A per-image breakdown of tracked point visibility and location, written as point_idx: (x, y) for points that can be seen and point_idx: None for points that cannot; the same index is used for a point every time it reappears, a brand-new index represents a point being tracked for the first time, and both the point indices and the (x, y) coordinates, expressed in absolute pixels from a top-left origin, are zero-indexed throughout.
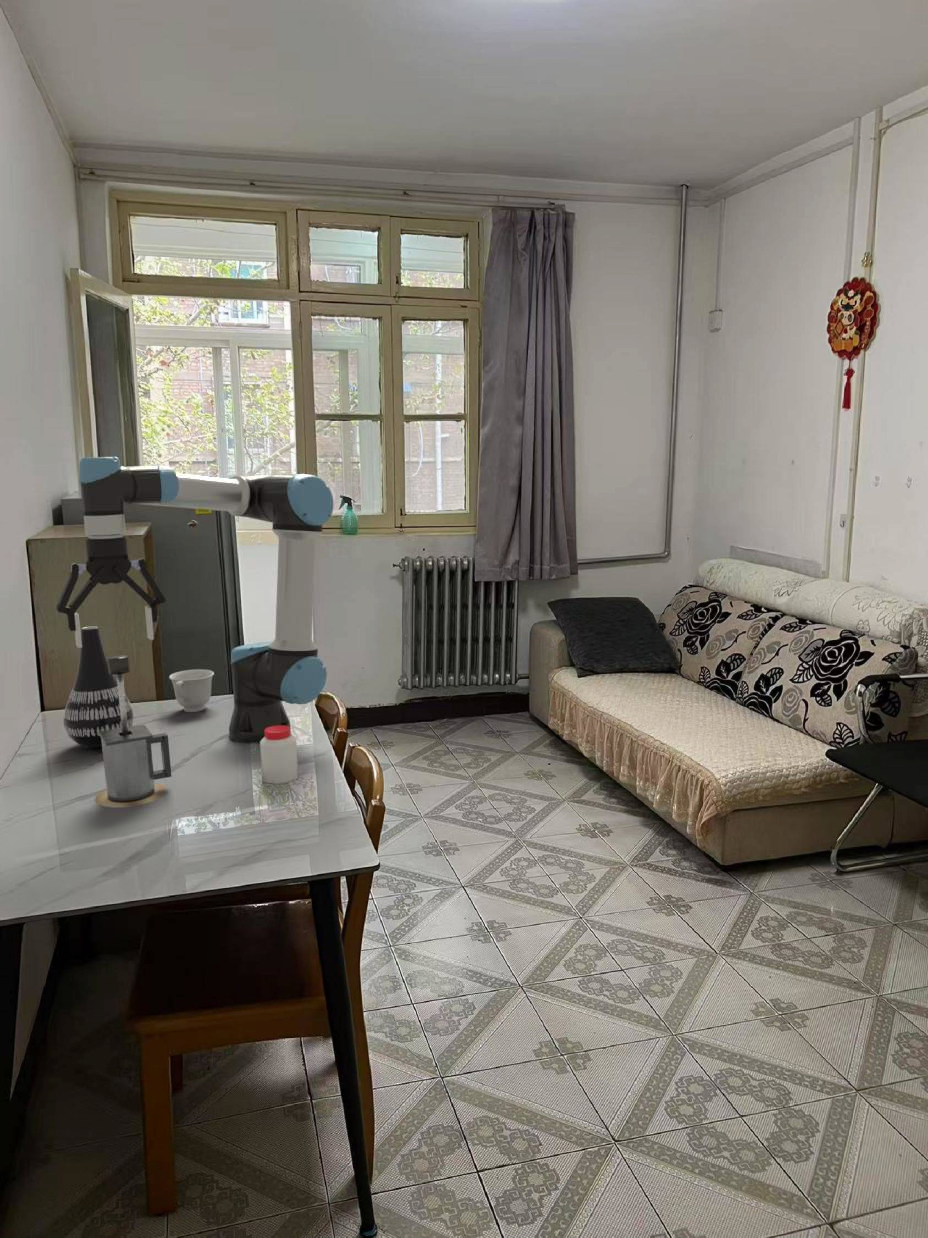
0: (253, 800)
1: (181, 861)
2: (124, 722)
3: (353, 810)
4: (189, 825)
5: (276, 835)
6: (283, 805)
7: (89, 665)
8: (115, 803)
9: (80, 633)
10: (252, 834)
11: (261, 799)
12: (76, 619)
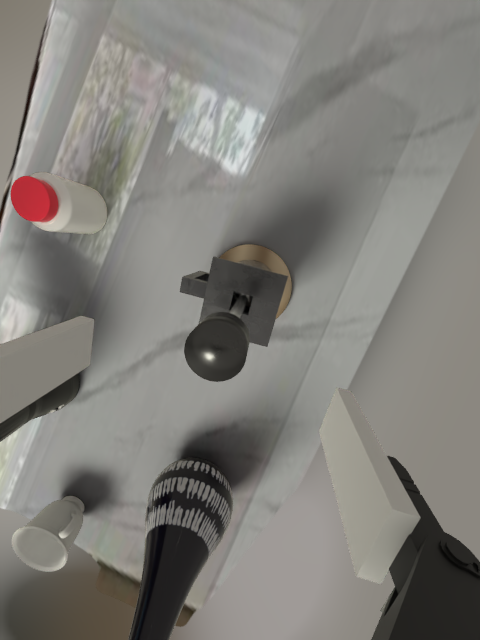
0: (144, 159)
1: (304, 19)
2: (240, 303)
3: (60, 9)
4: (240, 139)
5: (176, 5)
6: (123, 108)
7: (174, 584)
8: (276, 272)
9: (353, 423)
10: (197, 37)
11: (135, 154)
12: (396, 488)
